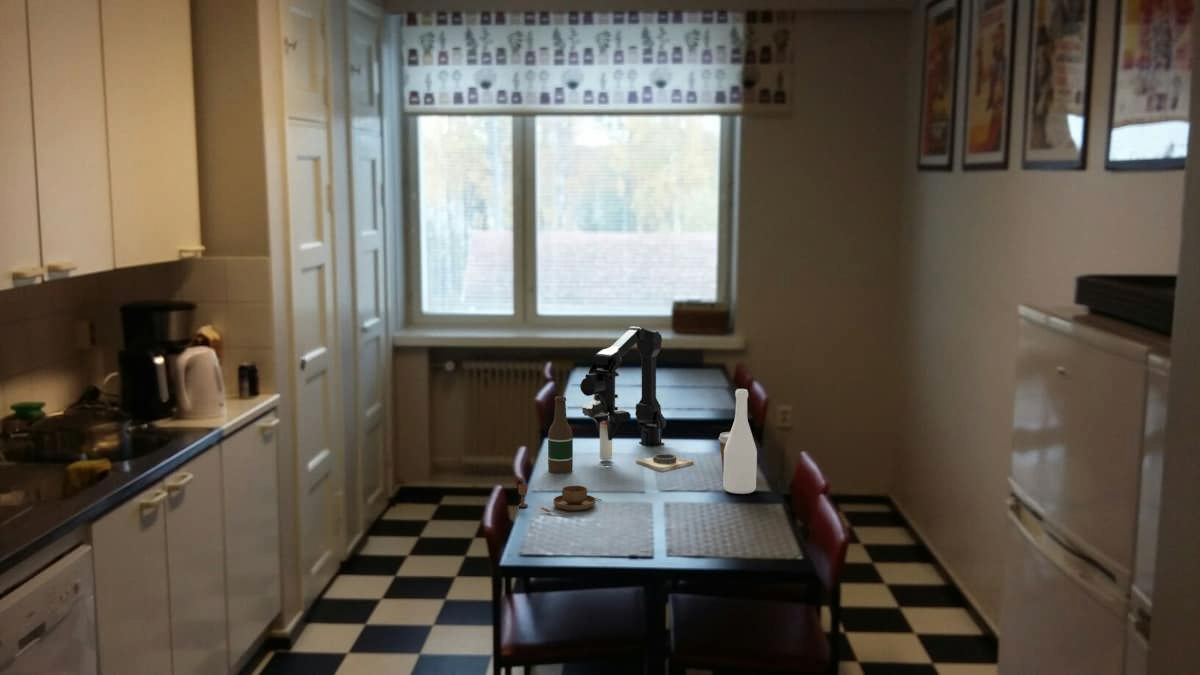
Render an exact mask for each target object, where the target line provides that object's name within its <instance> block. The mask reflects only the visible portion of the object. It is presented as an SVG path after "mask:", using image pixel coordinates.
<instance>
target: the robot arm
mask: <svg viewBox="0 0 1200 675" xmlns="http://www.w3.org/2000/svg"><path fill="white" fill-rule="evenodd" d="M662 342H663V338H662V335H661V334H660V332H659V331H656V330H655V331H654V330H648V329H645V328H643V327H641V326H629V327H628V328H627V330H626V332H625V333H624V334H622V336H620V338H618V339H617V340H616V341H615V342H614V343H613V344H612V345H611V346H610V347H607V348H603V349H601V350H599V351H598V352H597V353H596V354H595V356H594V358H593V360H592V363H591V366H590V368H589V370H588V373H586V374H585V378H584V379H582V380H581V383H580V391H581V393H582V394H583V395H584V396H586V397H589V396H591V397H592V396H593V399H592V400H590V401H588V402H586V403H584V404H583V405H581V409H582V414H583V416H584V417H588V418H590V419H592V420H593V421H594V422H595V425H596V428H597V431H598V434H599V435H600V422H601V421H604V422H605V423H606V424H607V430H608V440H612V441H613V438H614V437H615V434H616V432H617V430H618V428H619V426H620V425H621V423H623V422H629V421H632V420H631V419H632V418H631V417H632V416H631V415H632V414H631V413H630V412H629V411H627V410H623V409H622V410H620V409H619V408H618V406H616V399H618V398H619V395H618V394H616V377H619V376H620V374H619V372H617V369H618V368H619V366H620V365H621V364H622V358H623V357H624V356H625V355H626V354H627V353H628V352H629V350H631V349H632V348H633V347H634V346H635V345H636V349H637V351H638V353H639V354H640V356H641V399H640V400H639V402H638V403H636V404H635V413H634V414H635V415H634V416H635V417H636V422H637V426H638V427H641V431H640V432H641V433H640V435H641V436H640V441H639V442H638V444H640V445H644V446H647V447H657V446H661V445H665V442H662V430H664V429H665V428H666V426H667V420H666V418H665V416H664V415H663V414H662V406H661V404H660V402H659V401H658V398H657V356H658V354H659V353H660V351H661V349H662Z"/></svg>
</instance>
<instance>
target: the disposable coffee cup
mask: <svg viewBox="0 0 1200 675" xmlns="http://www.w3.org/2000/svg"><path fill="white" fill-rule="evenodd" d="M730 432H731V431H726V432H721V433H720V434H719V437H718V441H719V447H720V455H721V465H722V466H721V468H722V472H723V473H724V449H725V446H726V443H727V440H728V437H729V435H730Z"/></svg>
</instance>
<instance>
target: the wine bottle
mask: <svg viewBox="0 0 1200 675" xmlns="http://www.w3.org/2000/svg"><path fill="white" fill-rule="evenodd" d="M734 396H735V413H734V414H735V416H734V421H733V424H732V427H731V430H730V431H729V432H730V435H729V437H728V440H727V443H726V446H725V449H724V472H723V479H722V480H723V483H722V484H723V489H724V490H725V491H726V492H728V493H732V494H739V495H740V494H742V495H745V494H751V493H753V492H755V490H756V488H757V464H758V463H757V461H758V460H757V458H758V450H757V447H756V443H755V441H754V440H755V439H754V437H753V434H752V430H751V427H750V423H749V421H748V398H749V392H748V389H745V388H736V390H735V393H734Z"/></svg>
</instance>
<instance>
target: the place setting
mask: <svg viewBox="0 0 1200 675" xmlns="http://www.w3.org/2000/svg"><path fill="white" fill-rule="evenodd" d="M561 492H562V493H561V495H557V496H555V497H554V498H553V501H552V502H553V504H554V506H556V507H557V508H558V509H561V510H564V511H573V512H574V511H576V512H577V511H584V510H589V509H591V508H592V507H594V505H595V504H596V502H597V501H596V500H598V501H602V499H601V498H599V497H598V498H596V497H593V495H589V494H588V489H587V487H586V486H582V485H567V486H564V487H562V489H561ZM518 494H519V495H520V496H521V498H520V502H521V503H519V504H518V505H517V506H518V507H519V508H526V507H529V504H528V503H525V500H526V499H525V496H526V495H527V494H528V484H525V483H523V484H518ZM540 510H542V511H545V512H547V513H550V512H553V513H557V514H563V515H569V516H573V514H572V513H568V512H567V513H566V512H563V511H557V510H550V509H548V508H545V507H541V508H540Z"/></svg>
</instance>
